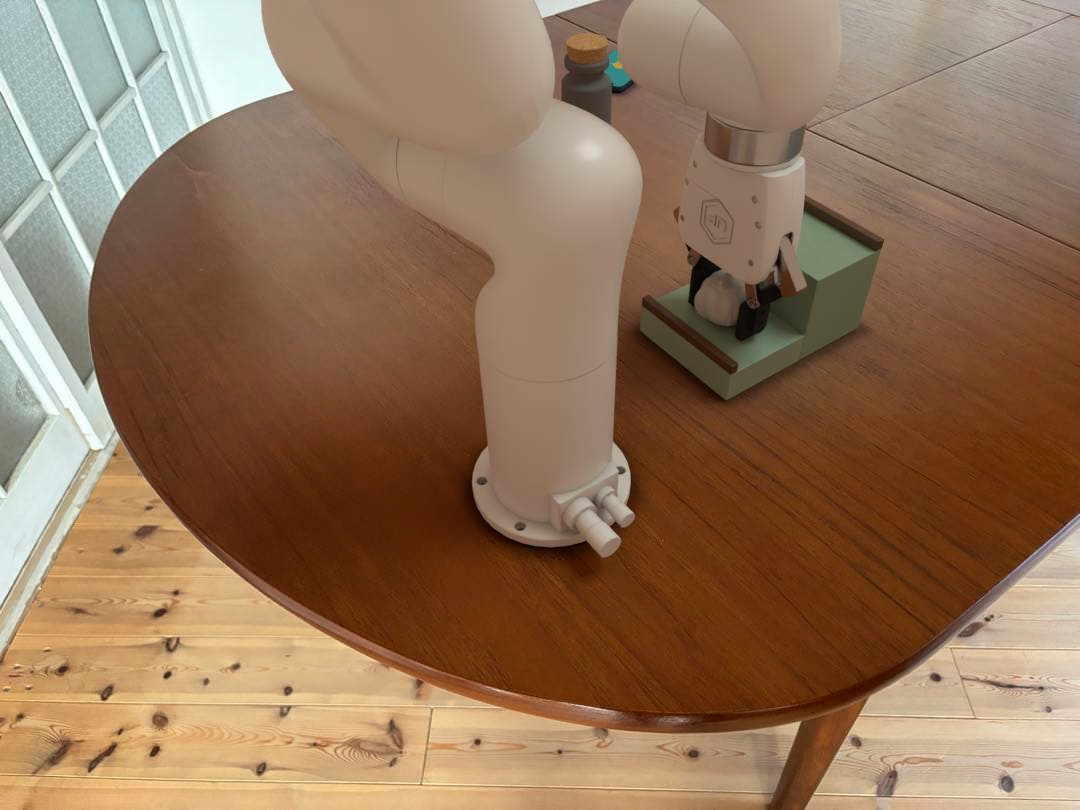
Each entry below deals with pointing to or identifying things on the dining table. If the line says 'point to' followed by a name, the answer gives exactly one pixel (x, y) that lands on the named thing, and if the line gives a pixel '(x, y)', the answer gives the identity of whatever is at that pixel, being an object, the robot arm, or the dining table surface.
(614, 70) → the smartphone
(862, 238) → the shelf
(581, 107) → the bottle
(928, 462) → the dining table surface
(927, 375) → the dining table surface
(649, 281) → the dining table surface
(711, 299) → the garlic
